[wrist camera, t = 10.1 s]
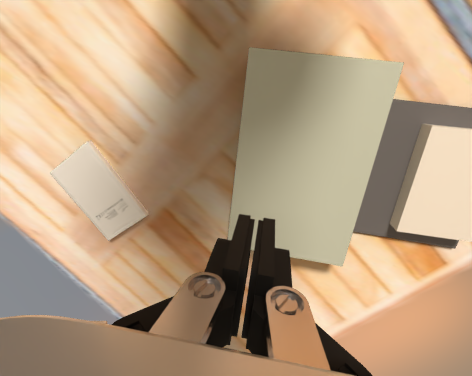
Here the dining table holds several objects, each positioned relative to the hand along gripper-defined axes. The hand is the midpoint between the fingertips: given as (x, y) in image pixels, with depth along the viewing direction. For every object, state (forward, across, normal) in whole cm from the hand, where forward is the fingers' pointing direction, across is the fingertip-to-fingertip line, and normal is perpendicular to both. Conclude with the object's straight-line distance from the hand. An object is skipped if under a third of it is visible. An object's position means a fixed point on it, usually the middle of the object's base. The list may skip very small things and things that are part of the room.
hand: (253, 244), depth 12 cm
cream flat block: (+19, -20, +1) cm, 27 cm away
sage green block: (+21, -4, +1) cm, 22 cm away
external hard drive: (+22, +22, +10) cm, 33 cm away
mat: (+21, -18, +1) cm, 28 cm away
